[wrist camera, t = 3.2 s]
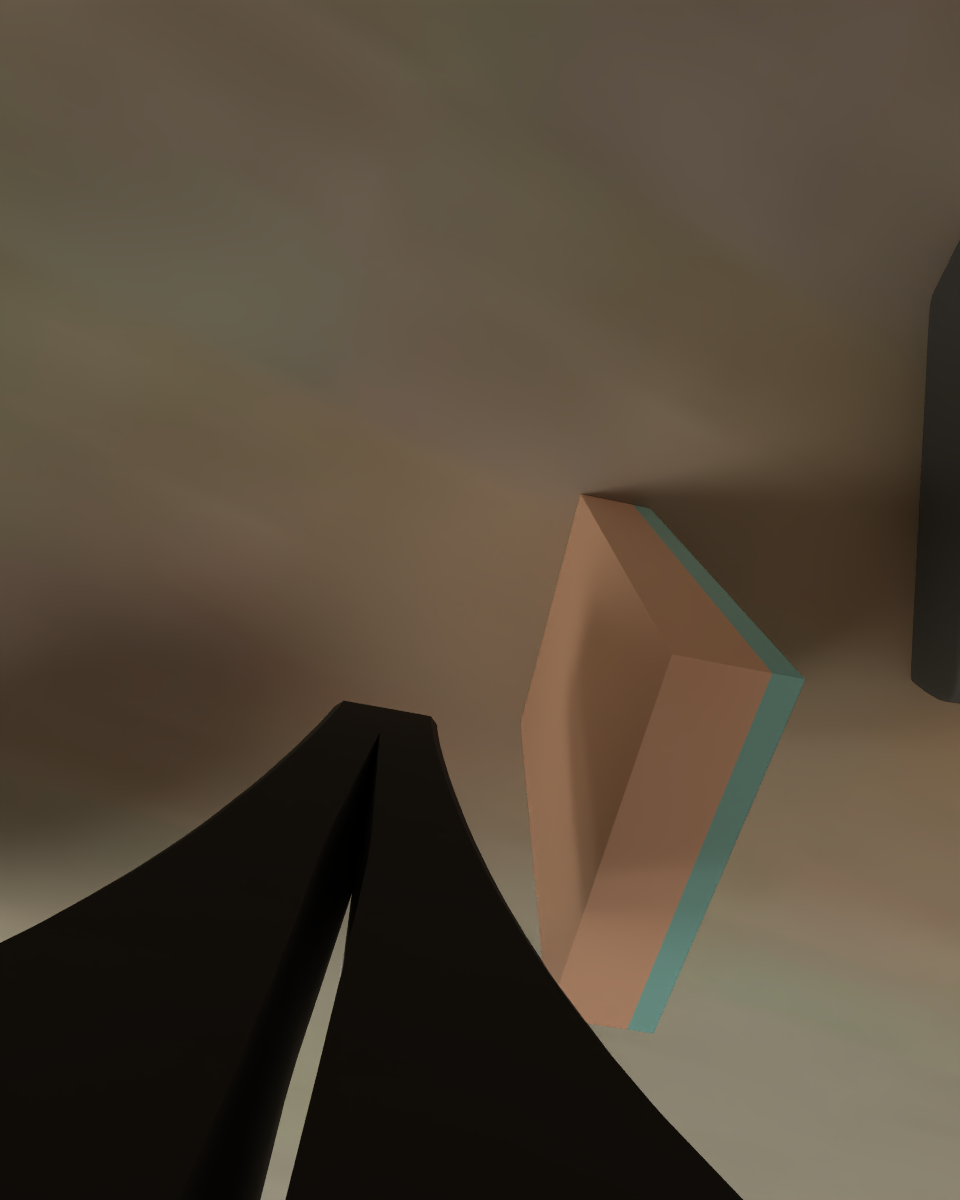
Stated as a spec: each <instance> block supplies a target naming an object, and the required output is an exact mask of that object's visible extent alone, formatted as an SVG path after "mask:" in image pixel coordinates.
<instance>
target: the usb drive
mask: <svg viewBox="0 0 960 1200" xmlns="http://www.w3.org/2000/svg"><path fill="white" fill-rule="evenodd" d="M911 679H912V681H913V682H914V683H915V684H916V685H918V686H919V687H920V688H922V689H923V690H924V691H926V692H927V693H928V694H930V695H932V696H934V697H935V698H937V699H939V700H942V701H946V702H953V703H960V241H959V243H958V245H957V247H956V249H955V251H954V253H953V255H952V257H951V259H950V261H949V263H948V265H947V267H946V269H945V271H944V273H943V275H942V277H941V279H940V281H939V283H938V285H937V287H936V289H935V291H934V293H933V295H932V300H931V305H930V315H929V329H928V348H927V368H926V387H925V407H924V426H923V446H922V465H921V485H920V504H919V524H918V543H917V563H916V582H915V602H914V621H913V641H912V662H911Z"/></svg>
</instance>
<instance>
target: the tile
mask: <svg viewBox="0 0 960 1200" xmlns="http://www.w3.org/2000/svg"><path fill="white" fill-rule="evenodd" d="M804 681H805V679H804V678H803V676H802V675H801V674H800V673H799V672H798V671H797V670H796V669H795V668H794V667H793V665H792V664H791V663H790V662H789V661H788V660H787V659H786V658H785V657H784V655H783V654H782V653H781V652H780V651H779V650H778V649H777V648H776V647H775V646H774V644H773V643H772V642H771V641H770V640H769V639H768V638H767V637H766V636H765V635H764V633H763V632H762V631H761V630H760V629H759V628H758V627H757V626H756V625H755V624H754V622H753V621H752V620H751V619H750V618H749V617H748V616H747V615H746V614H745V612H744V611H743V610H742V609H741V608H740V607H739V606H738V605H737V604H736V603H735V601H734V600H733V599H732V598H731V597H730V596H729V595H728V594H727V593H726V592H725V590H724V589H723V588H722V587H721V586H720V585H719V584H718V583H717V582H716V580H715V579H714V578H713V577H712V576H711V575H710V574H709V573H708V572H707V571H706V569H705V568H704V567H703V566H702V565H701V564H700V563H699V562H698V561H697V560H696V558H695V557H694V556H693V555H692V554H691V553H690V552H689V551H688V550H687V549H686V547H685V546H684V545H683V544H682V543H681V542H680V541H679V540H678V539H677V537H676V536H675V535H674V534H673V533H672V532H671V531H670V530H669V529H668V528H667V526H666V525H665V524H664V523H663V522H662V521H661V520H660V519H659V518H658V517H657V515H656V514H655V513H654V512H653V511H652V510H651V509H650V508H646V507H641V506H636V505H632V504H627V503H622V502H617V501H612V500H607V499H602V498H597V497H592V496H588V495H583V494H580V498H579V502H578V506H577V510H576V513H575V517H574V521H573V525H572V529H571V532H570V536H569V540H568V544H567V548H566V551H565V555H564V559H563V563H562V567H561V571H560V574H559V578H558V582H557V586H556V590H555V593H554V597H553V601H552V605H551V609H550V612H549V616H548V620H547V624H546V628H545V632H544V635H543V639H542V643H541V647H540V651H539V654H538V658H537V662H536V666H535V670H534V673H533V677H532V681H531V685H530V689H529V693H528V696H527V700H526V704H525V708H524V712H523V715H522V719H521V732H522V743H523V754H524V765H525V776H526V787H527V798H528V809H529V819H530V830H531V841H532V852H533V863H534V874H535V885H536V896H537V907H538V918H539V928H540V939H541V950H542V961H543V963H544V965H545V966H546V968H547V969H548V971H549V972H550V974H551V975H552V977H553V978H554V980H555V981H556V982H557V984H558V985H559V986H560V988H561V989H562V990H563V992H564V993H565V994H566V996H567V997H568V998H569V1000H570V1001H571V1002H572V1004H573V1005H574V1006H575V1008H576V1009H577V1010H578V1012H579V1013H580V1014H581V1016H582V1017H583V1018H584V1020H585V1021H586V1022H587V1023H588V1024H595V1025H601V1026H608V1027H615V1028H621V1029H628V1030H635V1031H641V1032H648V1033H654V1031H655V1029H656V1026H657V1024H658V1022H659V1019H660V1017H661V1015H662V1012H663V1010H664V1008H665V1005H666V1003H667V1001H668V998H669V996H670V994H671V991H672V989H673V987H674V984H675V982H676V980H677V977H678V975H679V973H680V970H681V968H682V966H683V963H684V961H685V959H686V956H687V954H688V952H689V949H690V947H691V945H692V942H693V940H694V938H695V935H696V933H697V931H698V928H699V926H700V924H701V921H702V919H703V917H704V914H705V912H706V910H707V907H708V905H709V903H710V900H711V898H712V896H713V893H714V891H715V889H716V886H717V884H718V882H719V879H720V877H721V875H722V873H723V870H724V868H725V866H726V863H727V861H728V859H729V856H730V854H731V852H732V849H733V847H734V845H735V842H736V840H737V838H738V835H739V833H740V831H741V828H742V826H743V824H744V821H745V819H746V817H747V814H748V812H749V810H750V807H751V805H752V803H753V800H754V798H755V796H756V793H757V791H758V789H759V786H760V784H761V782H762V779H763V777H764V775H765V772H766V770H767V768H768V765H769V763H770V761H771V758H772V756H773V754H774V751H775V749H776V747H777V744H778V742H779V740H780V737H781V735H782V733H783V730H784V728H785V726H786V723H787V721H788V719H789V716H790V714H791V712H792V709H793V707H794V705H795V702H796V700H797V698H798V695H799V693H800V691H801V688H802V686H803V684H804Z"/></svg>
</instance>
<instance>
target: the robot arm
mask: <svg viewBox="0 0 960 1200" xmlns="http://www.w3.org/2000/svg"><path fill="white" fill-rule="evenodd" d="M351 894H352V896H351ZM350 897H351V904H350V912H349V920H348V928H347V936H346V944H345V952H344V960H343V968H342V972H341V977H340V981H339V985H338V989H337V993H336V997H335V1001H334V1006H333V1010H332V1014H331V1018H330V1022H329V1026H328V1030H327V1034H326V1039H325V1043H324V1047H323V1051H322V1055H321V1059H320V1063H319V1067H318V1072H317V1076H316V1080H315V1084H314V1088H313V1092H312V1096H311V1100H310V1104H309V1108H308V1112H307V1116H306V1120H305V1124H304V1128H303V1132H302V1136H301V1140H300V1144H299V1148H298V1152H297V1156H296V1160H295V1164H294V1168H293V1172H292V1176H291V1180H290V1184H289V1188H288V1192H287V1196H286V1200H743V1199H742V1198H741V1197H740V1196H739V1195H738V1194H737V1193H736V1192H735V1191H734V1190H733V1189H732V1188H731V1187H730V1186H729V1184H728V1183H727V1182H726V1181H725V1180H724V1179H723V1178H722V1177H721V1176H720V1175H719V1174H718V1173H717V1172H716V1171H715V1170H714V1169H713V1168H712V1167H711V1166H710V1165H709V1164H708V1162H707V1161H706V1160H705V1159H704V1158H703V1157H702V1156H701V1155H700V1154H699V1153H698V1152H697V1151H696V1150H695V1149H694V1148H693V1147H692V1146H691V1145H690V1144H689V1143H688V1142H687V1140H686V1139H685V1138H684V1137H683V1136H682V1135H681V1134H680V1133H679V1132H678V1131H677V1130H676V1129H675V1128H674V1127H673V1126H672V1125H671V1124H670V1123H669V1122H668V1121H667V1120H666V1118H665V1117H664V1116H663V1115H662V1114H661V1113H660V1112H659V1111H658V1110H657V1108H656V1107H655V1106H654V1105H653V1104H652V1103H651V1102H650V1101H649V1099H648V1098H647V1097H646V1096H645V1095H644V1093H643V1092H642V1091H641V1090H640V1089H639V1088H638V1086H637V1085H636V1084H635V1083H634V1082H633V1080H632V1079H631V1078H630V1077H629V1076H628V1075H627V1073H626V1072H625V1071H624V1070H623V1069H622V1067H621V1066H620V1065H619V1064H618V1063H617V1062H616V1060H615V1059H614V1058H613V1057H612V1056H611V1054H610V1053H609V1052H608V1050H607V1049H606V1048H605V1046H604V1045H603V1044H602V1042H601V1041H600V1040H599V1038H598V1037H597V1036H596V1034H595V1033H594V1032H593V1030H592V1029H591V1028H590V1026H589V1025H588V1024H587V1022H586V1021H585V1020H584V1018H583V1017H582V1016H581V1014H580V1013H579V1012H578V1010H577V1009H576V1008H575V1006H574V1005H573V1004H572V1002H571V1001H570V1000H569V998H568V997H567V996H566V994H565V993H564V992H563V990H562V989H561V988H560V986H559V985H558V984H557V982H556V981H555V980H554V978H553V977H552V975H551V974H550V972H549V971H548V969H547V968H546V966H545V965H544V963H543V962H542V960H541V959H540V957H539V955H538V954H537V952H536V951H535V949H534V948H533V946H532V945H531V943H530V942H529V940H528V939H527V937H526V936H525V934H524V932H523V931H522V929H521V927H520V925H519V924H518V922H517V920H516V919H515V917H514V915H513V914H512V912H511V910H510V909H509V907H508V905H507V904H506V902H505V900H504V898H503V896H502V895H501V893H500V891H499V889H498V887H497V885H496V883H495V882H494V880H493V878H492V876H491V874H490V872H489V870H488V868H487V866H486V864H485V862H484V860H483V858H482V855H481V853H480V851H479V849H478V847H477V845H476V843H475V841H474V839H473V836H472V834H471V832H470V829H469V827H468V825H467V823H466V820H465V817H464V815H463V812H462V810H461V807H460V805H459V802H458V800H457V797H456V795H455V792H454V789H453V786H452V784H451V781H450V778H449V775H448V771H447V768H446V765H445V762H444V758H443V755H442V751H441V747H440V742H439V737H438V731H437V724H436V723H435V722H434V720H433V719H432V717H431V716H426V715H421V714H415V713H409V712H404V711H398V710H393V709H387V708H381V707H376V706H370V705H365V704H359V703H353V702H348V701H343V702H341V703H340V704H338V705H336V706H335V707H334V708H333V709H332V710H331V711H330V712H329V714H328V715H327V716H326V717H325V718H324V719H323V720H322V721H321V722H320V723H319V724H318V725H317V726H316V727H315V728H314V729H313V730H312V731H311V732H310V734H308V735H307V736H306V737H305V738H304V739H303V740H302V741H301V742H300V743H299V744H298V745H297V746H296V747H295V748H294V749H293V750H292V751H291V752H290V753H288V754H287V755H286V756H285V757H284V758H283V759H282V760H281V761H279V762H278V763H277V764H276V765H275V766H274V767H273V768H272V769H270V770H269V771H268V772H267V773H266V774H265V775H264V776H263V777H261V778H260V779H259V780H258V781H257V782H255V783H254V784H253V785H252V786H251V787H249V788H248V789H247V790H245V791H244V792H243V793H242V794H240V795H239V796H238V797H236V798H235V799H234V800H233V801H231V802H230V803H229V804H228V805H226V806H225V807H224V808H222V809H221V810H220V811H219V812H217V813H216V814H215V815H213V816H212V817H211V818H210V819H208V820H207V821H205V822H204V823H203V824H201V825H200V826H199V827H197V828H196V829H194V830H193V831H191V832H190V833H189V834H187V835H186V836H184V837H183V838H182V839H180V840H179V841H177V842H176V843H174V844H173V845H171V846H170V847H168V848H167V849H165V850H164V851H162V852H161V853H159V854H157V855H156V856H154V857H153V858H151V859H150V860H148V861H147V862H145V863H144V864H142V865H140V866H139V867H137V868H136V869H134V870H132V871H131V872H129V873H128V874H126V875H124V876H122V877H121V878H119V879H117V880H116V881H114V882H112V883H110V884H109V885H107V886H105V887H103V888H102V889H100V890H98V891H97V892H95V893H93V894H91V895H90V896H88V897H86V898H85V899H83V900H81V901H79V902H77V903H76V904H74V905H72V906H70V907H68V908H67V909H65V910H63V911H61V912H59V913H57V914H56V915H54V916H52V917H50V918H48V919H47V920H45V921H43V922H41V923H39V924H37V925H35V926H33V927H31V928H29V929H27V930H25V931H23V932H21V933H19V934H17V935H15V936H13V937H11V938H9V939H7V940H5V941H3V942H1V943H0V1200H260V1199H261V1195H262V1191H263V1187H264V1183H265V1179H266V1175H267V1171H268V1166H269V1162H270V1158H271V1154H272V1150H273V1146H274V1142H275V1138H276V1134H277V1130H278V1126H279V1122H280V1118H281V1114H282V1110H283V1105H284V1101H285V1098H286V1094H287V1091H288V1087H289V1084H290V1081H291V1077H292V1074H293V1070H294V1067H295V1064H296V1060H297V1057H298V1054H299V1051H300V1048H301V1045H302V1042H303V1039H304V1036H305V1033H306V1030H307V1027H308V1024H309V1021H310V1018H311V1015H312V1012H313V1009H314V1006H315V1003H316V1000H317V997H318V994H319V991H320V988H321V985H322V982H323V979H324V976H325V973H326V970H327V967H328V964H329V961H330V958H331V955H332V952H333V949H334V946H335V943H336V940H337V937H338V934H339V931H340V928H341V925H342V922H343V919H344V916H345V913H346V910H347V907H348V903H349V900H350Z"/></svg>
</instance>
